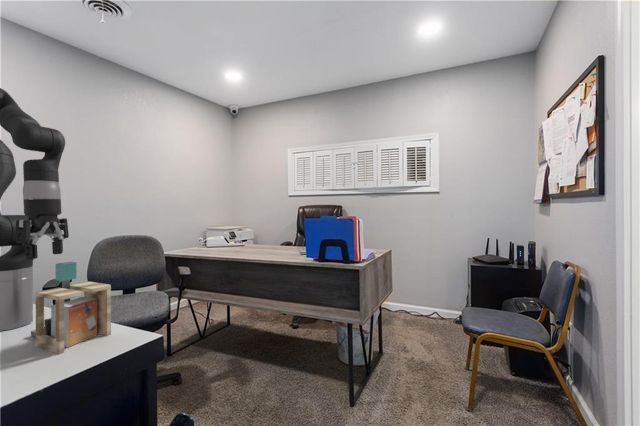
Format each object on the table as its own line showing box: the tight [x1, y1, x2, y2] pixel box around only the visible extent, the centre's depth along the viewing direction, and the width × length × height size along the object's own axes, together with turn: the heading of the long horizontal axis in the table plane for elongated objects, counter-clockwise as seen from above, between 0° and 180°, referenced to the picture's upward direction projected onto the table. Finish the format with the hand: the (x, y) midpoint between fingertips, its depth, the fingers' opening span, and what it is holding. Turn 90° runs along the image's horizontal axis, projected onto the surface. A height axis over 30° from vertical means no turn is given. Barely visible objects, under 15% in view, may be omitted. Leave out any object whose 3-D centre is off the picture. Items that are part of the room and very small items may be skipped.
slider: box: [44, 261, 77, 336], centre depth 78 cm, size 2×9×20 cm, turn 159°
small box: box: [50, 296, 98, 348], centre depth 77 cm, size 8×6×10 cm
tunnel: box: [35, 281, 112, 355], centre depth 77 cm, size 10×12×14 cm
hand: (45, 256), depth 80 cm, fingers open, 8 cm apart
